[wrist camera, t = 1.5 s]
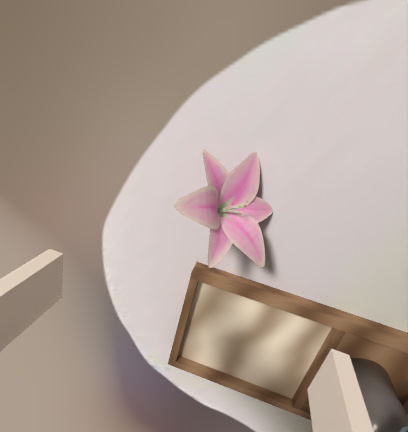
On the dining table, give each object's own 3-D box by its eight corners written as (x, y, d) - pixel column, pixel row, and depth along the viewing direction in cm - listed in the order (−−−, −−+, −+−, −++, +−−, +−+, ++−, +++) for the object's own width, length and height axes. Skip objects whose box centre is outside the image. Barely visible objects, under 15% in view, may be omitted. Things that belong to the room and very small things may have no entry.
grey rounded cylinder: (400, 370, 33) (443, 455, 25) (373, 406, 36) (403, 493, 28) (342, 350, 34) (364, 425, 26) (320, 386, 37) (333, 465, 29)
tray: (440, 343, 32) (452, 360, 30) (373, 427, 38) (379, 446, 36) (196, 261, 36) (191, 271, 33) (173, 351, 42) (167, 364, 40)
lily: (259, 256, 35) (300, 276, 25) (165, 256, 32) (171, 279, 23) (263, 160, 34) (307, 144, 25) (168, 153, 32) (176, 133, 22)
